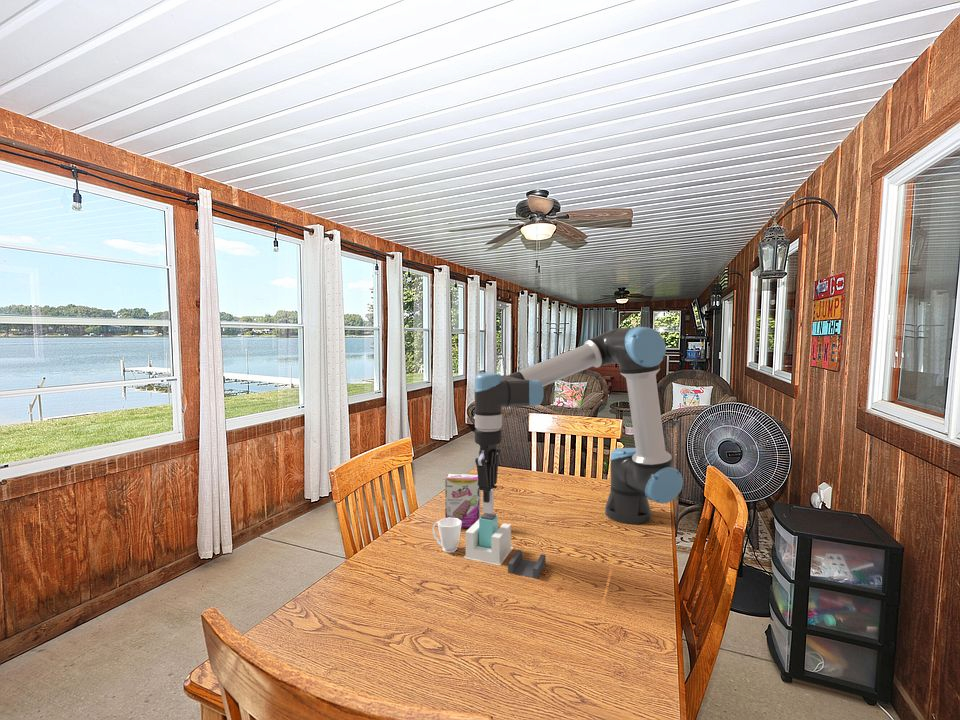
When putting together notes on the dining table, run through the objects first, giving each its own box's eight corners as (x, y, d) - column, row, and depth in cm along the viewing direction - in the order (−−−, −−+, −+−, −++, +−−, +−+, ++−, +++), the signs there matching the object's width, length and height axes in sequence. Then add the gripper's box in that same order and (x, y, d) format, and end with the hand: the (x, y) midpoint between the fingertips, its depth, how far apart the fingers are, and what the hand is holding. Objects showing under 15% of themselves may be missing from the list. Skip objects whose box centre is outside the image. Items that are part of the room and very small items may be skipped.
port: (513, 549, 127) (513, 523, 126) (500, 567, 117) (500, 539, 116) (478, 542, 131) (478, 517, 131) (462, 559, 121) (462, 532, 121)
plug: (497, 550, 125) (497, 513, 124) (492, 556, 121) (492, 518, 121) (484, 547, 126) (484, 511, 126) (479, 553, 123) (479, 516, 122)
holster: (545, 565, 117) (545, 555, 117) (537, 581, 110) (537, 569, 110) (517, 560, 120) (517, 549, 120) (507, 574, 113) (507, 563, 113)
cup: (451, 557, 122) (451, 529, 122) (425, 547, 128) (424, 520, 128) (467, 547, 128) (466, 520, 127) (441, 538, 134) (440, 512, 133)
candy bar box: (445, 528, 141) (444, 477, 141) (447, 521, 146) (447, 473, 146) (479, 529, 140) (479, 478, 140) (481, 522, 145) (480, 474, 145)
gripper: (484, 423, 130) (484, 502, 131) (466, 432, 118) (466, 518, 119) (508, 425, 127) (508, 506, 128) (492, 434, 115) (492, 523, 116)
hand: (488, 512), depth 123 cm, fingers closed
